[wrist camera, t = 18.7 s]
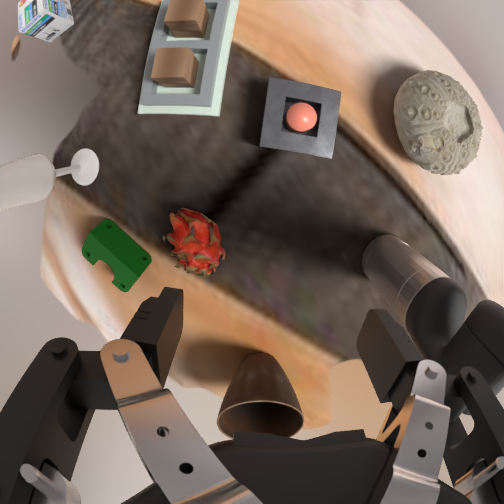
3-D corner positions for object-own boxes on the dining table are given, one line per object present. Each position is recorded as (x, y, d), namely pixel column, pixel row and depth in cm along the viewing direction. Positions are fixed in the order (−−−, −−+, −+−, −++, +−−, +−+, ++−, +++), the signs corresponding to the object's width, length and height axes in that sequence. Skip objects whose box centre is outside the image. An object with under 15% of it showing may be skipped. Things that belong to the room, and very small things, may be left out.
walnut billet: (209, 15, 30) (202, -4, 24) (204, 37, 32) (195, 20, 25) (182, 16, 30) (171, -3, 23) (176, 38, 32) (163, 21, 25)
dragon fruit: (215, 266, 48) (183, 205, 46) (248, 257, 42) (212, 186, 40) (180, 291, 43) (144, 224, 40) (210, 285, 36) (168, 205, 34)
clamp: (114, 235, 49) (76, 245, 41) (126, 215, 46) (85, 223, 38) (144, 286, 48) (106, 302, 40) (158, 269, 45) (118, 285, 37)
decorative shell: (435, 190, 41) (469, 202, 32) (365, 131, 38) (394, 128, 29) (468, 119, 36) (502, 119, 26) (405, 57, 32) (436, 42, 23)
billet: (199, 61, 33) (189, 47, 27) (194, 88, 35) (183, 77, 29) (170, 62, 33) (156, 48, 27) (166, 87, 35) (150, 77, 28)
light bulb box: (75, 24, 29) (44, 8, 19) (50, 44, 30) (17, 33, 20) (69, -4, 25) (42, -20, 15) (45, 15, 26) (17, 3, 16)
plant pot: (217, 379, 57) (210, 437, 42) (232, 331, 52) (226, 394, 37) (280, 390, 58) (286, 447, 43) (304, 345, 53) (318, 406, 38)
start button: (312, 109, 36) (318, 105, 32) (308, 134, 37) (314, 133, 34) (285, 104, 36) (289, 100, 32) (282, 130, 37) (285, 128, 34)
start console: (331, 97, 36) (341, 91, 32) (323, 157, 40) (331, 158, 35) (267, 85, 36) (269, 77, 31) (258, 146, 39) (259, 146, 35)
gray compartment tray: (239, 0, 30) (238, -10, 27) (219, 116, 38) (216, 113, 34) (163, 2, 29) (157, -7, 26) (140, 114, 37) (131, 112, 34)
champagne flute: (83, 140, 38) (-22, 153, 16) (105, 163, 40) (1, 189, 18) (65, 170, 40) (-35, 199, 18) (86, 193, 42) (-13, 236, 19)
